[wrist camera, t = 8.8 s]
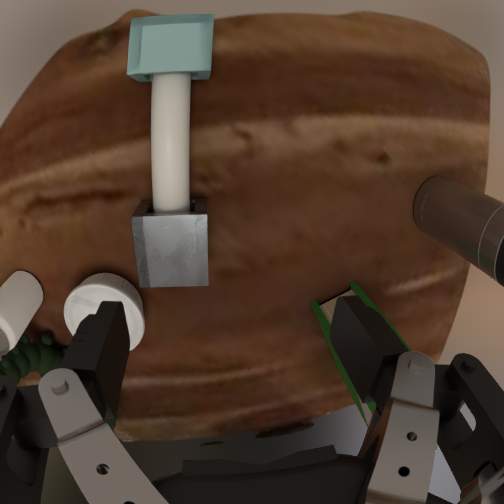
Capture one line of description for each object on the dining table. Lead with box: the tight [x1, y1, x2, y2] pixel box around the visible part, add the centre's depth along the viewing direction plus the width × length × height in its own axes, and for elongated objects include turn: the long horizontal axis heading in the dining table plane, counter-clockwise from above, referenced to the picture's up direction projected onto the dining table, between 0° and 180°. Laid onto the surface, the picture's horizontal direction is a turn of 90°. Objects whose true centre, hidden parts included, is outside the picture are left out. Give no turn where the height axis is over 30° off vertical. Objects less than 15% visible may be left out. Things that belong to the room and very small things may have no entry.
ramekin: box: [64, 273, 145, 350], centre depth 37 cm, size 11×11×5 cm
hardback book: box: [311, 281, 438, 449], centre depth 38 cm, size 18×7×24 cm, turn 24°
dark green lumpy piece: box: [0, 333, 118, 436], centre depth 36 cm, size 9×19×25 cm
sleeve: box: [131, 198, 209, 287], centre depth 34 cm, size 8×8×6 cm
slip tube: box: [151, 72, 191, 213], centre depth 30 cm, size 4×22×4 cm, turn 178°
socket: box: [127, 14, 214, 82], centre depth 25 cm, size 8×6×6 cm
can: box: [0, 271, 43, 355], centre depth 31 cm, size 6×6×12 cm
